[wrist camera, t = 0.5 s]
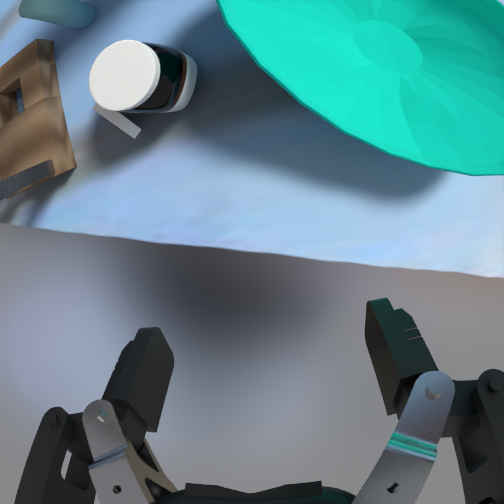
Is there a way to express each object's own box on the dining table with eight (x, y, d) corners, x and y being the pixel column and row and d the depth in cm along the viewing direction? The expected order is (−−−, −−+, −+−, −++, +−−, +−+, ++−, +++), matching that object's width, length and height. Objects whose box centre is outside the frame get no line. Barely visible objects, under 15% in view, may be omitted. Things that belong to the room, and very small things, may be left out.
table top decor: (204, 101, 31) (171, 100, 20) (256, -71, 18) (253, -125, 7) (468, 190, 34) (524, 226, 23) (502, 41, 22) (558, 40, 10)
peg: (72, 13, 24) (19, -1, 13) (94, 0, 23) (44, -20, 13) (74, 33, 26) (18, 23, 15) (96, 21, 25) (43, 5, 14)
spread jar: (208, 58, 29) (183, 37, 18) (187, 144, 34) (155, 162, 24) (120, 50, 28) (69, 38, 17) (104, 131, 33) (52, 146, 23)
